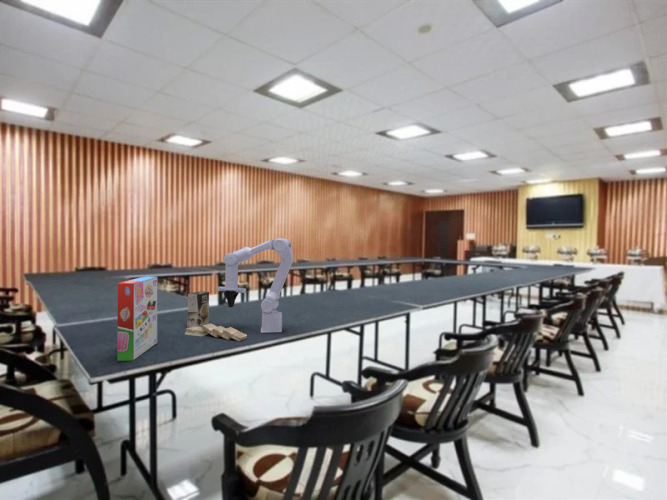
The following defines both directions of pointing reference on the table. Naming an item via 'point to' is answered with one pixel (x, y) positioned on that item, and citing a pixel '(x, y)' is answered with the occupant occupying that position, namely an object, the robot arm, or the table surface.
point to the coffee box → (198, 309)
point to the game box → (136, 317)
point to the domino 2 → (195, 334)
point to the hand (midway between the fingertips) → (231, 307)
